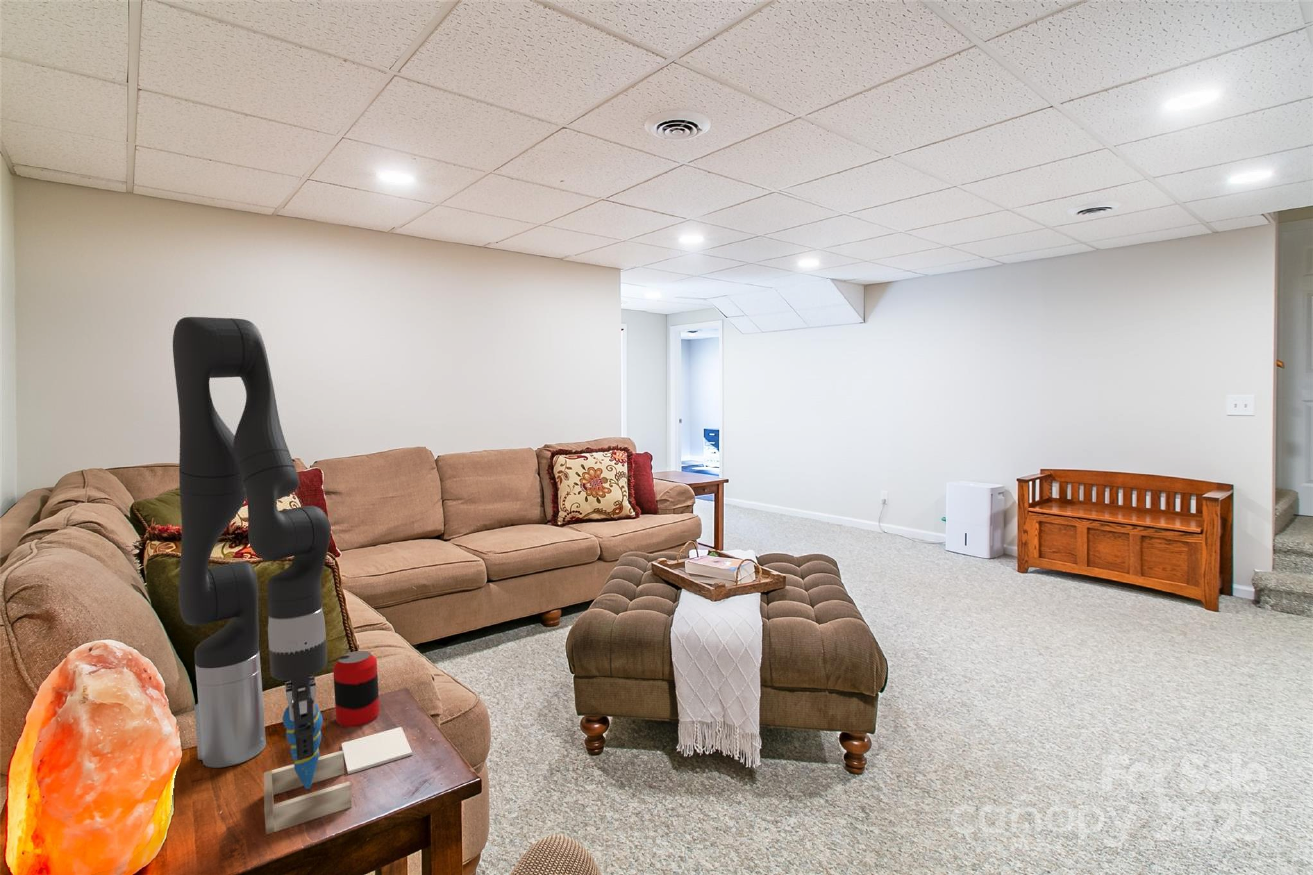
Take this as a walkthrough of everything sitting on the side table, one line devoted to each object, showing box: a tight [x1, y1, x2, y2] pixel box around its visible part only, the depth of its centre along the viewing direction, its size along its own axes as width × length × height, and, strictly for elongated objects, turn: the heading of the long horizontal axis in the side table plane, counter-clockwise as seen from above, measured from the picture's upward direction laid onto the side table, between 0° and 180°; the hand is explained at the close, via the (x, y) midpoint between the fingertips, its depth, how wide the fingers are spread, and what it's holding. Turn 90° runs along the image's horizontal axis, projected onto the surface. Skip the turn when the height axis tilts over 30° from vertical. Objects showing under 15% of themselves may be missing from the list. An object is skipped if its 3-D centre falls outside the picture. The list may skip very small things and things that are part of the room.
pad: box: [341, 726, 413, 775], centre depth 111 cm, size 10×10×1 cm
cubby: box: [263, 750, 352, 835], centre depth 98 cm, size 11×11×4 cm
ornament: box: [282, 702, 323, 790], centre depth 98 cm, size 5×5×15 cm
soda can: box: [332, 650, 380, 728], centre depth 123 cm, size 8×8×12 cm
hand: (304, 748), depth 98 cm, fingers closed on ornament, 5 cm apart
